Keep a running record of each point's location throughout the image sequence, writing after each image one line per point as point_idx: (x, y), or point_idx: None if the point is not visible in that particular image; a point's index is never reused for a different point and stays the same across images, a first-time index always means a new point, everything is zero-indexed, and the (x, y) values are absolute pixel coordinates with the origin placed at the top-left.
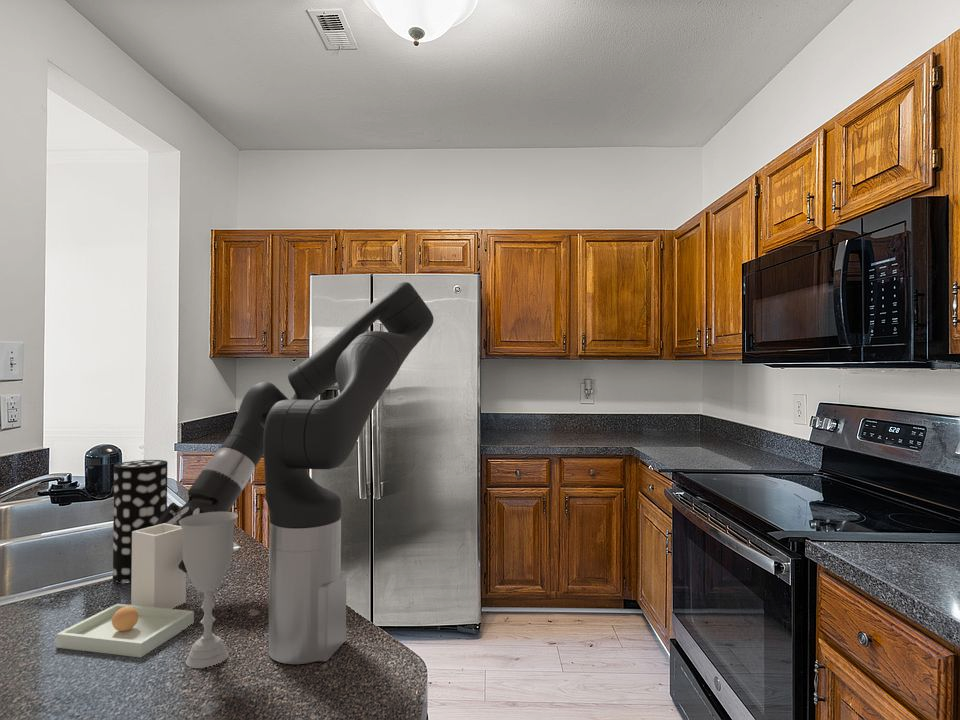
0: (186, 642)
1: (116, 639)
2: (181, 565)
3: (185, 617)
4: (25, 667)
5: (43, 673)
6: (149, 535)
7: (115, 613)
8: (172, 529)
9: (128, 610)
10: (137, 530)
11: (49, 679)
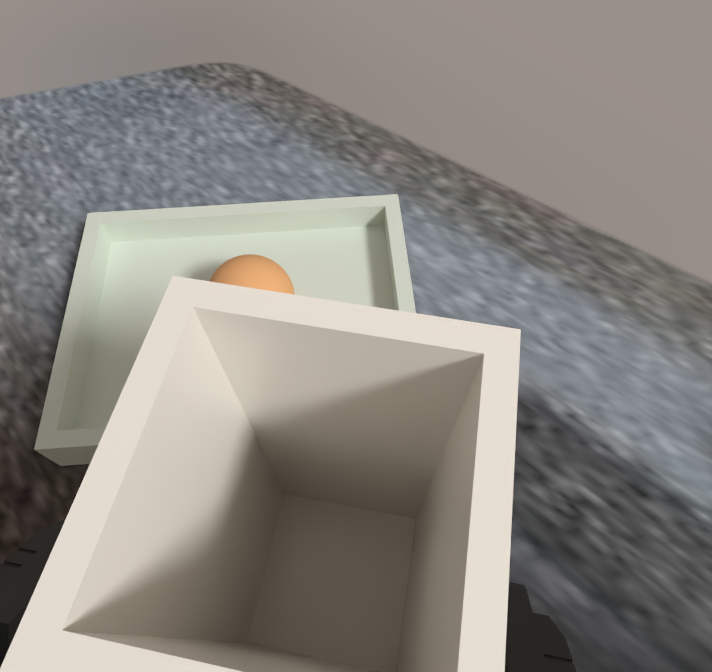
0: (13, 341)
1: (183, 213)
2: None
3: (49, 401)
4: (368, 148)
5: (297, 142)
6: (249, 290)
7: (267, 258)
8: (255, 669)
9: (221, 269)
10: (504, 372)
11: (259, 131)
